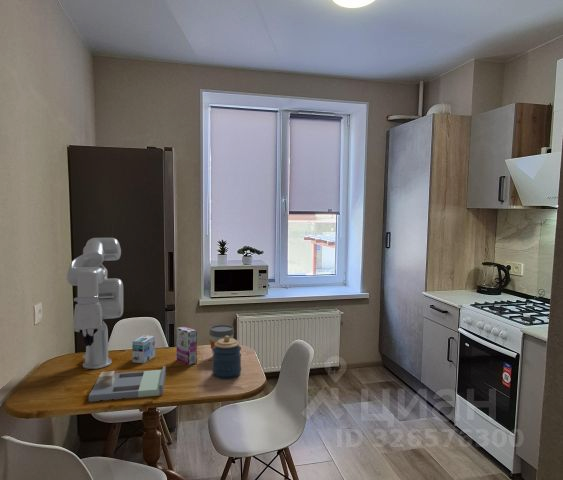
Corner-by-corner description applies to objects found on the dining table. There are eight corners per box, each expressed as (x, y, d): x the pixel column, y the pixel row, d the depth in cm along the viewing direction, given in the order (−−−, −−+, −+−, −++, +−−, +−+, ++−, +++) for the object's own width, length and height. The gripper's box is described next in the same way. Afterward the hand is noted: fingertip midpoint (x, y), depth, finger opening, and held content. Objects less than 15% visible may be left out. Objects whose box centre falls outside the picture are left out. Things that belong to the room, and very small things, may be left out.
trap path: (88, 401, 149) (88, 391, 148) (100, 379, 169) (100, 371, 168) (162, 395, 155) (162, 385, 155) (165, 374, 175) (165, 366, 175)
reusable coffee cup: (234, 352, 205) (234, 324, 204) (233, 361, 192) (233, 331, 191) (210, 352, 204) (210, 324, 203) (207, 361, 191) (207, 331, 190)
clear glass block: (99, 386, 156) (98, 376, 156) (101, 381, 161) (101, 371, 161) (112, 385, 158) (112, 375, 157) (114, 380, 162) (114, 370, 162)
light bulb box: (144, 363, 188) (144, 342, 187) (131, 362, 189) (131, 341, 188) (155, 356, 198) (155, 335, 198) (143, 355, 199) (143, 334, 199)
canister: (216, 381, 168) (216, 341, 167) (209, 370, 180) (209, 333, 179) (244, 376, 173) (245, 338, 172) (236, 366, 185) (236, 330, 184)
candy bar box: (197, 363, 189) (197, 330, 188) (188, 365, 185) (188, 332, 185) (184, 357, 197) (184, 325, 196) (176, 360, 193) (175, 327, 192)
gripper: (64, 303, 151) (65, 349, 152) (106, 301, 154) (107, 346, 155) (70, 299, 158) (71, 343, 159) (110, 297, 161) (110, 340, 162)
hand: (89, 344), depth 157 cm, fingers closed
